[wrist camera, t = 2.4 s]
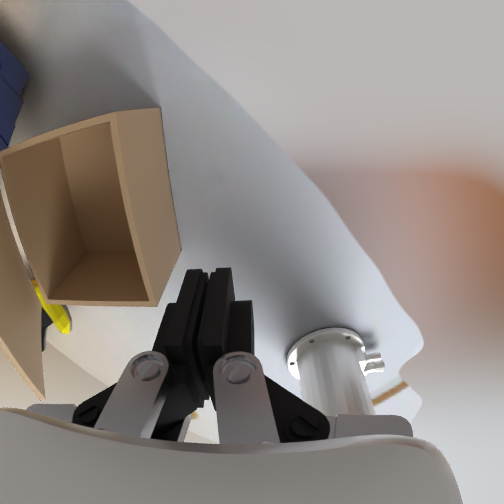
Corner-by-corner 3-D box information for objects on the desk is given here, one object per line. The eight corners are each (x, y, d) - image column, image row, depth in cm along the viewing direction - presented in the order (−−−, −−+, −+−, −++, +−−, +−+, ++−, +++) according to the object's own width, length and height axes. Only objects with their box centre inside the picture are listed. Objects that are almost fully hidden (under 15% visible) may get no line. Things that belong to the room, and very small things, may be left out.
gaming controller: (86, 311, 41) (45, 264, 37) (72, 333, 36) (26, 284, 32) (49, 338, 45) (15, 300, 41) (37, 357, 40) (0, 318, 36)
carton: (160, 107, 27) (115, 111, 18) (181, 249, 35) (157, 306, 26) (58, 133, 28) (-3, 152, 18) (87, 255, 36) (46, 303, 26)
